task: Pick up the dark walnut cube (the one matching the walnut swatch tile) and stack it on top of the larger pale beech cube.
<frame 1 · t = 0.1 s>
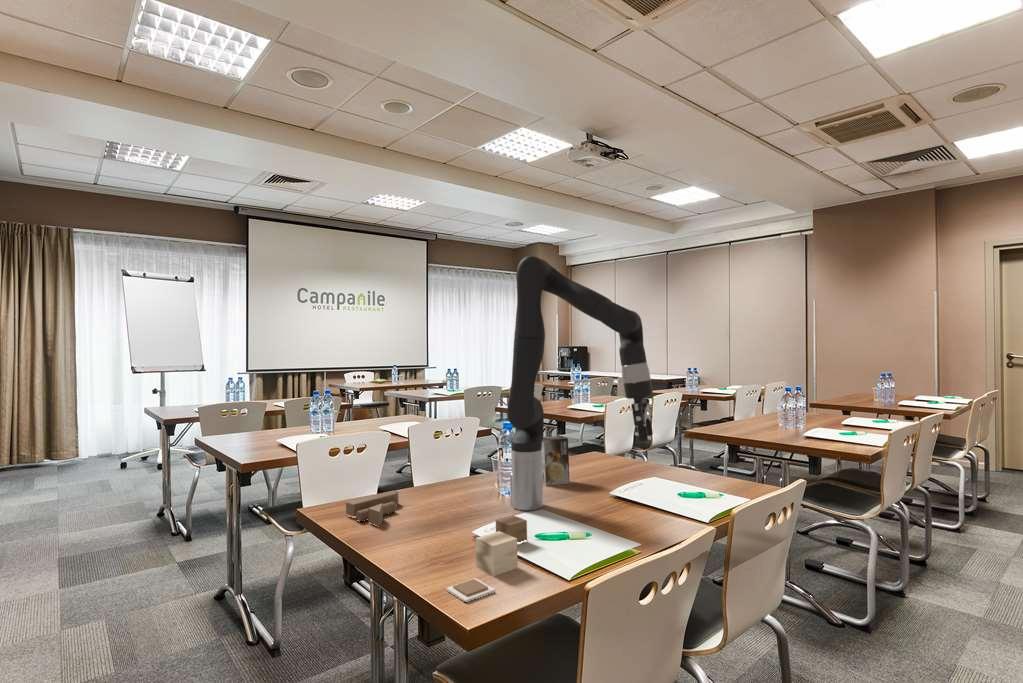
hand: (646, 438, 149), 22 cm above the table, tool pointing down, fingers open, 8 cm apart
walnut cube: (511, 542, 133), on the table
coffee box: (554, 483, 190), on the table
beech cube: (496, 567, 118), on the table
wooden block set: (385, 516, 158), on the table
walnut swatch tile: (470, 591, 106), on the table
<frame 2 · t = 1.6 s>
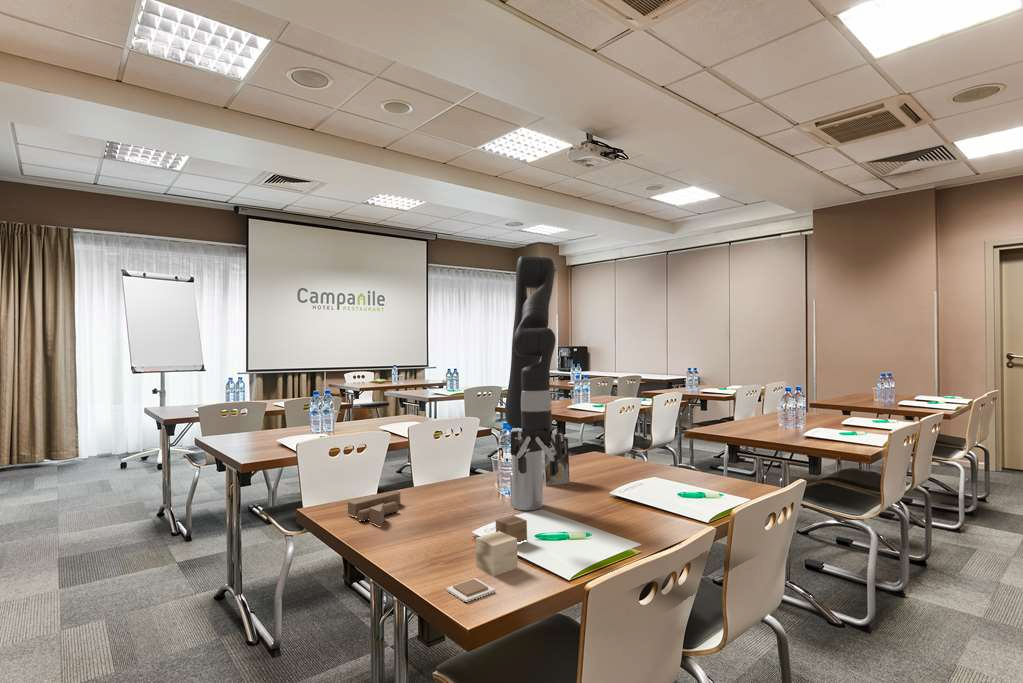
hand: (538, 474, 132), 17 cm above the table, tool pointing down, fingers open, 8 cm apart
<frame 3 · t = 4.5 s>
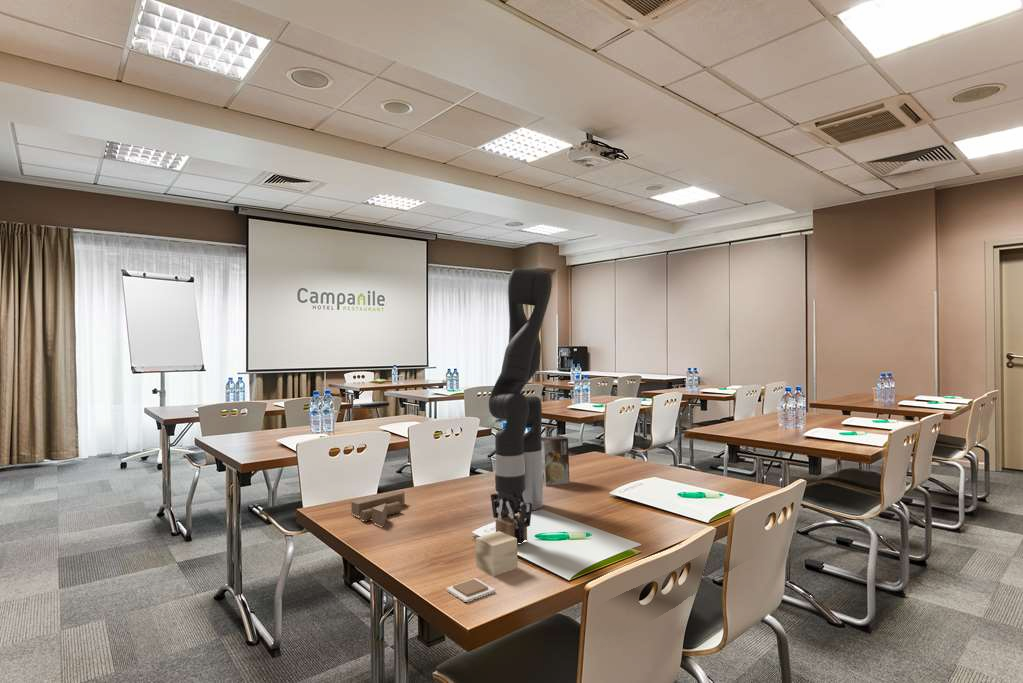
hand: (511, 539, 133), 1 cm above the table, tool pointing down, fingers closed on walnut cube, 5 cm apart
walnut cube: (511, 542, 133), on the table, touching gripper
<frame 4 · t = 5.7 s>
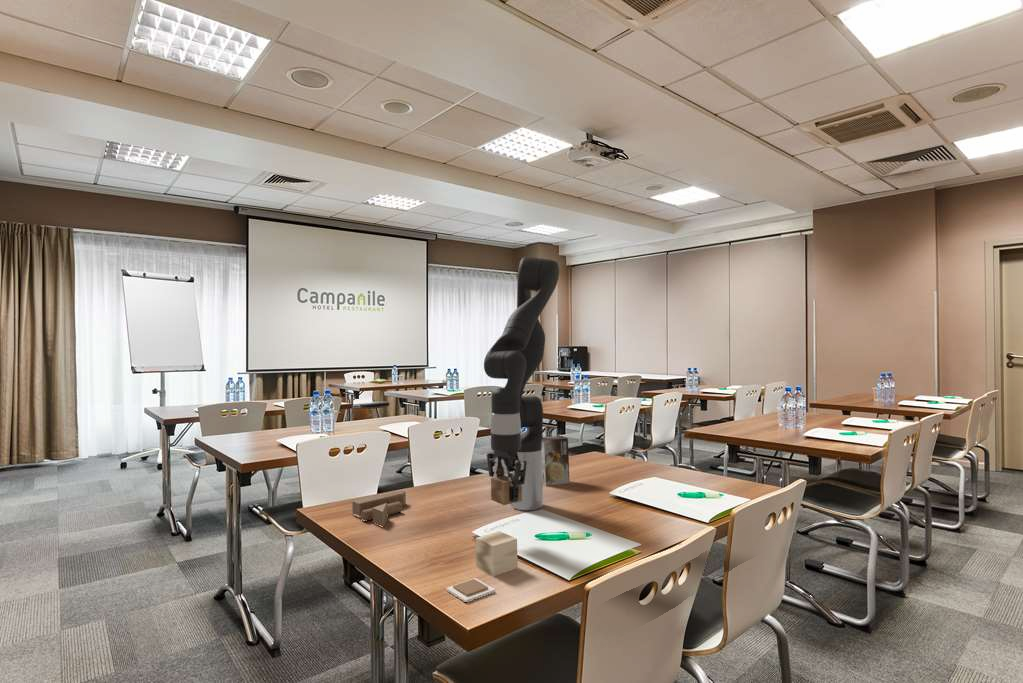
hand: (506, 497, 134), 11 cm above the table, tool pointing down, fingers closed on walnut cube, 5 cm apart
walnut cube: (506, 500, 134), point 10 cm above the table, touching gripper
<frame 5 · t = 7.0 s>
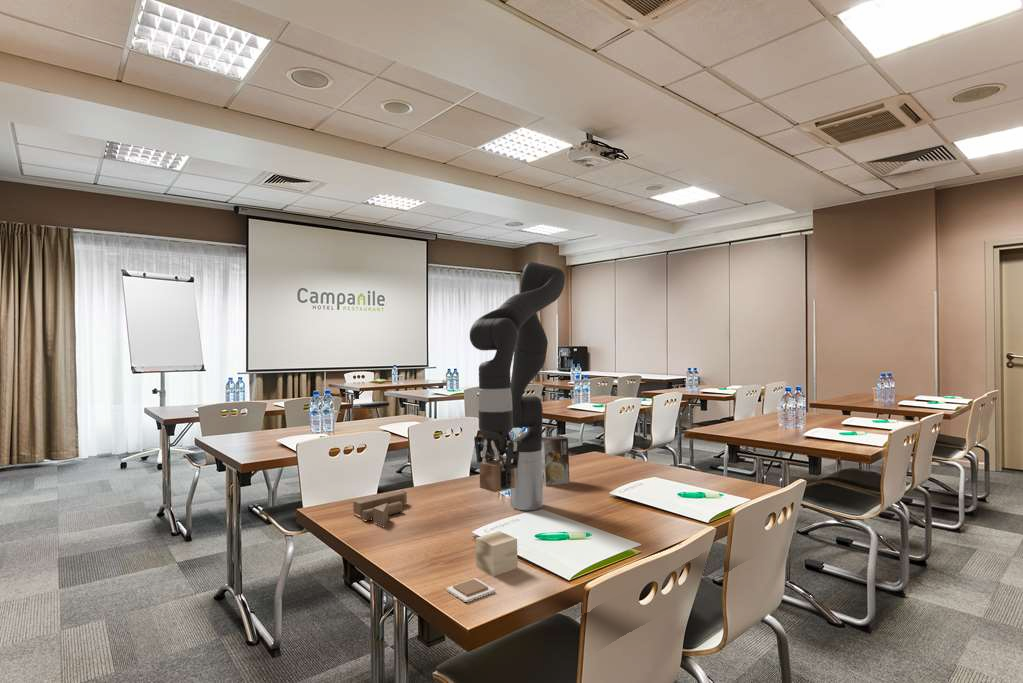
hand: (497, 485, 118), 18 cm above the table, tool pointing down, fingers closed on walnut cube, 5 cm apart
walnut cube: (497, 487, 118), point 17 cm above the table, touching gripper
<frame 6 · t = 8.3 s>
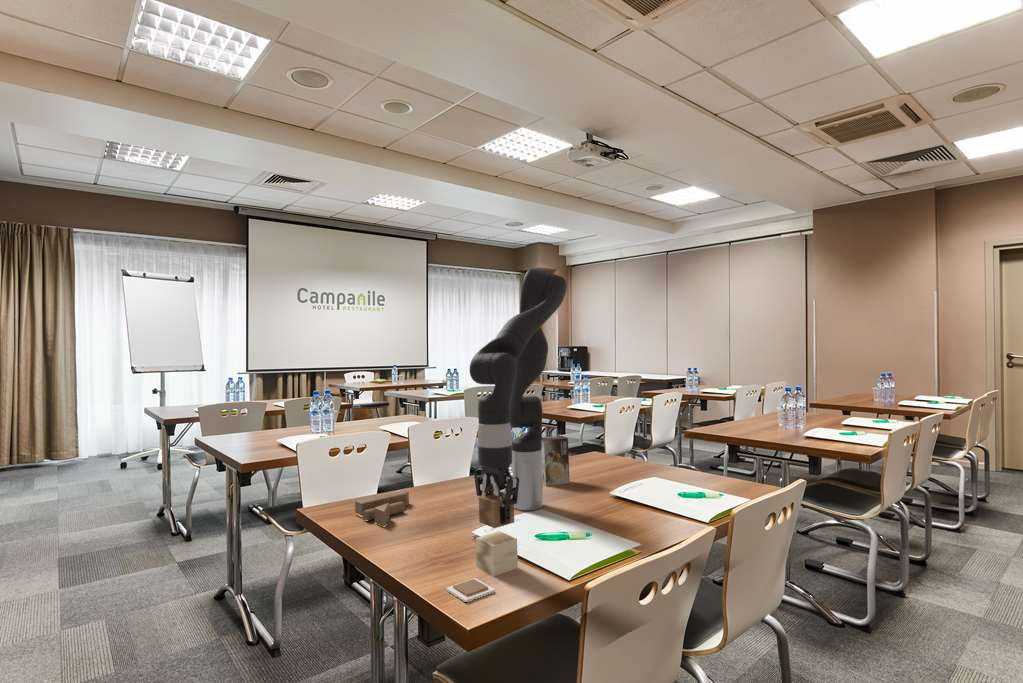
hand: (496, 519, 118), 10 cm above the table, tool pointing down, fingers closed on walnut cube, 5 cm apart
walnut cube: (496, 522, 118), point 10 cm above the table, touching gripper
when the fingers open (8 cm above the table, at t = 9.6 s): walnut cube drops 1 cm, resting on beech cube.
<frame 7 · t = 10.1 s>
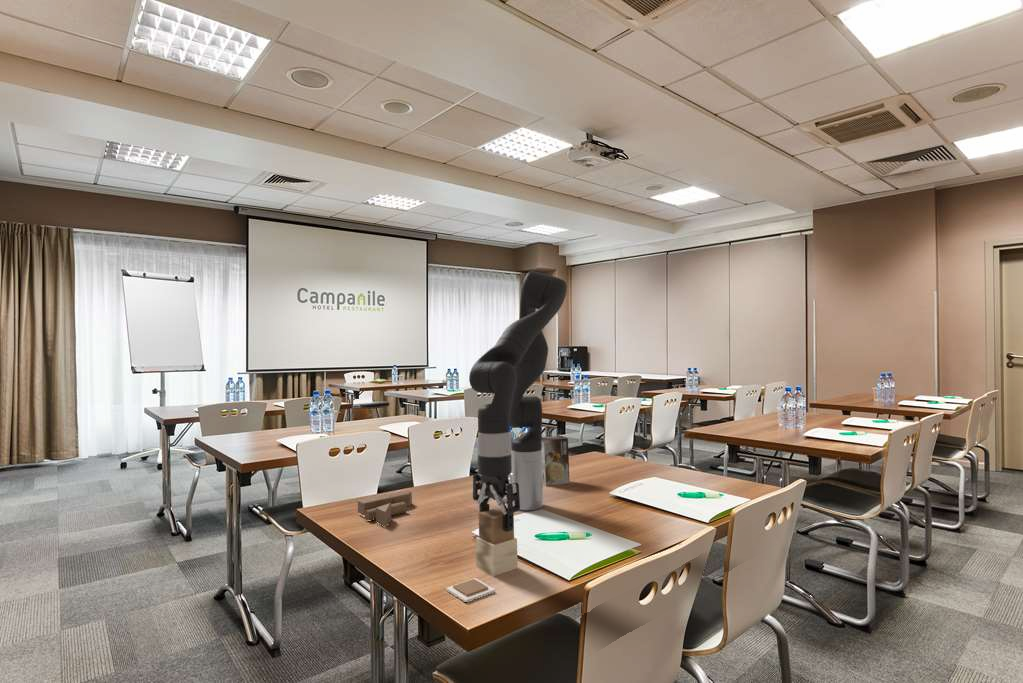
hand: (496, 525, 118), 9 cm above the table, tool pointing down, fingers open, 8 cm apart
walnut cube: (496, 538, 118), point 6 cm above the table, touching beech cube
beech cube: (496, 567, 118), on the table, touching walnut cube
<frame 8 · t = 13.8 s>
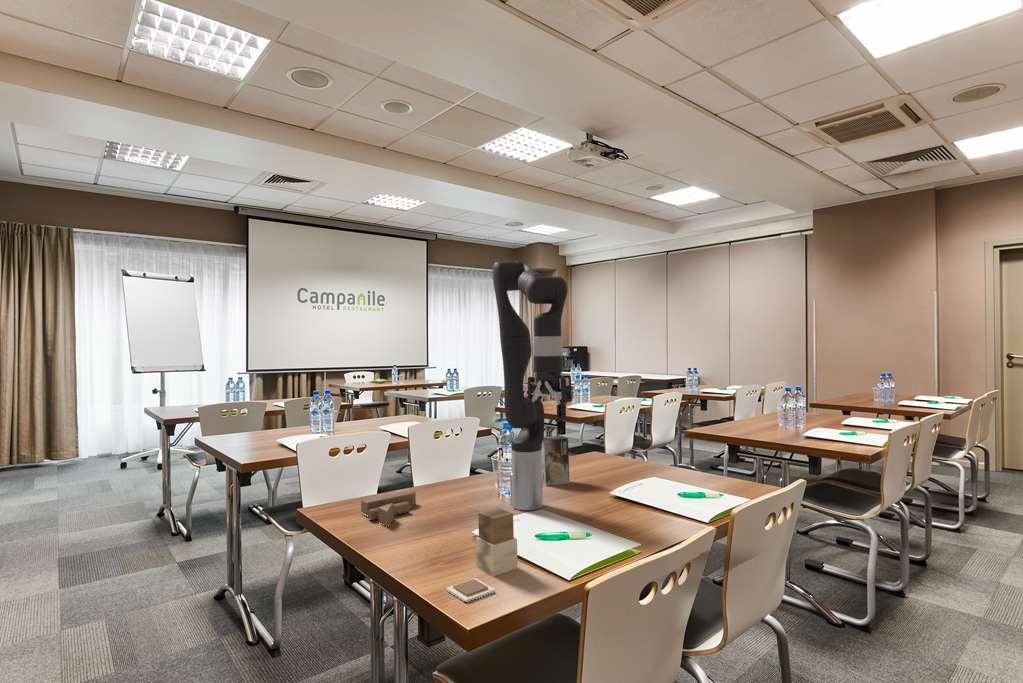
hand: (549, 418, 137), 30 cm above the table, tool pointing down, fingers open, 8 cm apart
at the end: walnut cube 0.1 cm off-centre on the beech cube, point 6.5 cm above the beech cube's base; walnut cube tilted 0°; the gripper is holding nothing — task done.
